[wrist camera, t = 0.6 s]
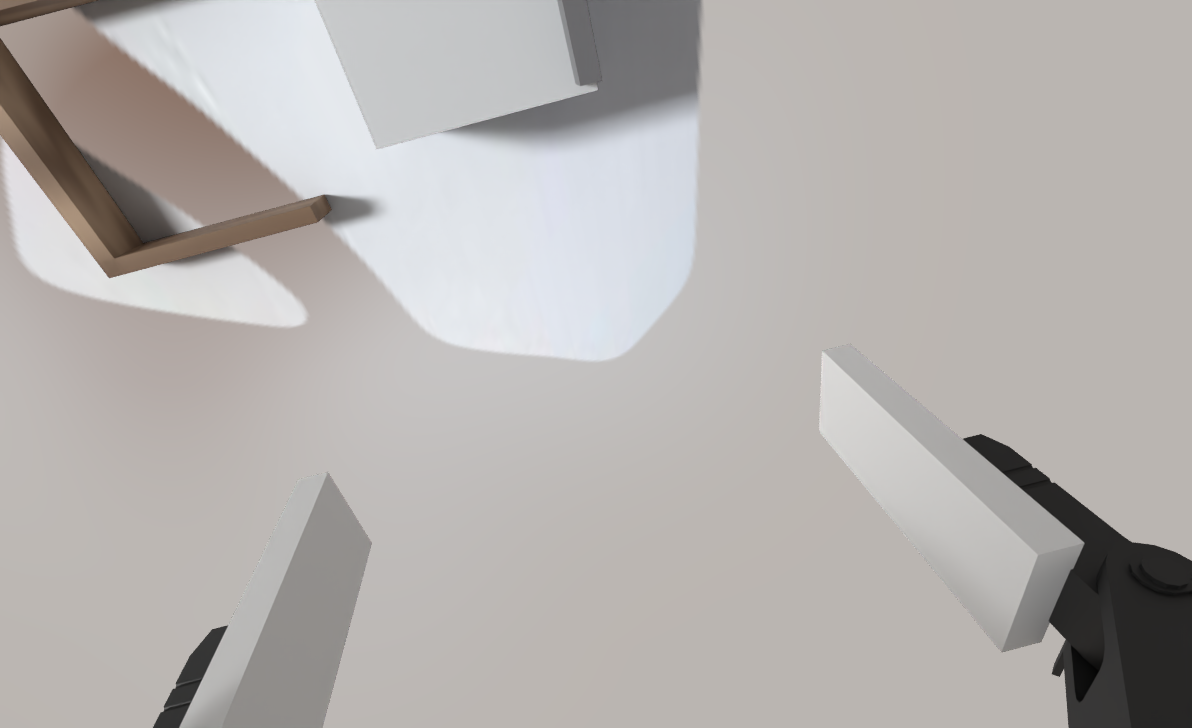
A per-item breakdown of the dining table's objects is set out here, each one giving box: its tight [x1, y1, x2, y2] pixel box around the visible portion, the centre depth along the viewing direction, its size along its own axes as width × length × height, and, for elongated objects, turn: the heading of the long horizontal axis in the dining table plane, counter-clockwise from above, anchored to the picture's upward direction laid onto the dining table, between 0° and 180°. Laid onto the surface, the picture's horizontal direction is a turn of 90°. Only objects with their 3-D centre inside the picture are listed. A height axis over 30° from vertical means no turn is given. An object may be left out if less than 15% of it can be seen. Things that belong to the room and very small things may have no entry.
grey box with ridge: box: [315, 0, 602, 149], centre depth 27 cm, size 7×11×11 cm, turn 103°
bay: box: [0, 0, 332, 278], centre depth 30 cm, size 14×13×3 cm
